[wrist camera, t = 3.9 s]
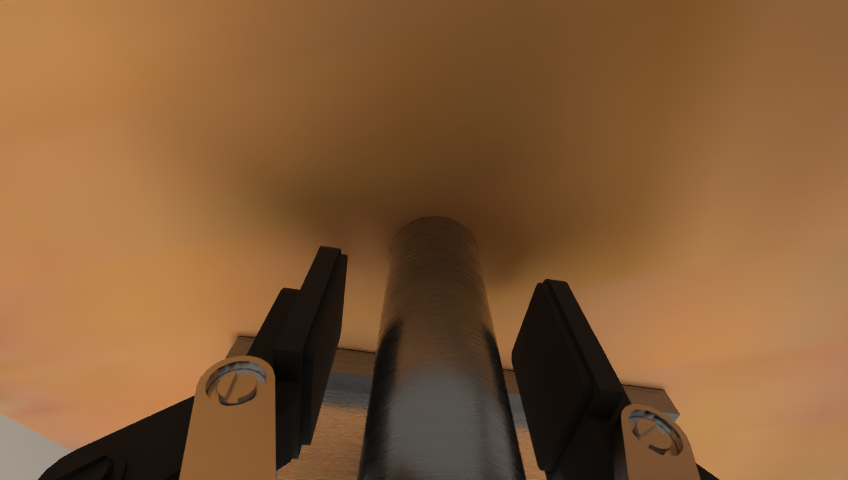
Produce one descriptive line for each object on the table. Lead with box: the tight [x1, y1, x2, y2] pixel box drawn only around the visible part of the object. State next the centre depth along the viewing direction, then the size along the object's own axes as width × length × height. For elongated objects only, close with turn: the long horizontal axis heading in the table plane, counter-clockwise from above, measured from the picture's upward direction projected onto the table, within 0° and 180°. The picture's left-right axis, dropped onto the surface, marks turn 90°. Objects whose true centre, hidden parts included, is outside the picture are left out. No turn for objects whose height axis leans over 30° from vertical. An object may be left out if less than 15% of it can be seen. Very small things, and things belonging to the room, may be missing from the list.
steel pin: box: [357, 217, 526, 480], centre depth 10 cm, size 3×3×10 cm
